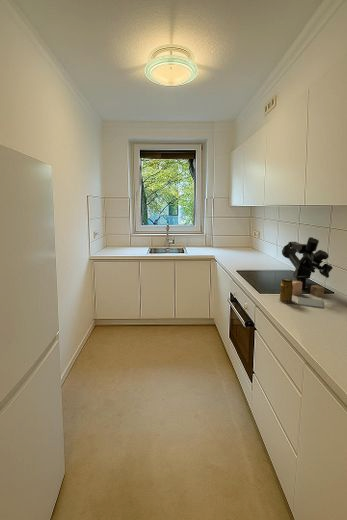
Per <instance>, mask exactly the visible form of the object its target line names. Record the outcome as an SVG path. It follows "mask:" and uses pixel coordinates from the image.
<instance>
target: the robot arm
mask: <svg viewBox="0 0 347 520" xmlns="http://www.w3.org/2000/svg"><path fill="white" fill-rule="evenodd" d="M319 242H320V241H319V239H317V238H314V237H308V239H307V242H306V243H303V244H302V243H299V242H298V241H288V243H287V244H285V245H284V246H283V248H282V250H281V255H282V256H283V257H284V259H285V258H286V259H288V260H289V261H290V262H291V264H292V265H293V267H294V269H295V270H294V271H293V273H292V275H293V278H295V281H301V282H302V290H303V289H309V287H308V286H307V279H310V278H311V276H312V273H315V272H316V270H318V272H319V273H320V275H321V276H323V277H325V278H327V279H328V278H329V277H330V272H331V271H332V269H333V266H332V265H331V264H328V263H324V264H323V265H321V264H322V263H323V260H328V258H329V254H328V253H327V252H326V251H324V250H321V249H319V250H317V248H318V245H319ZM297 253H298V254H299V255H300V254H302V257H301V258H299V257H298V256H297V255H296V254H297Z"/></svg>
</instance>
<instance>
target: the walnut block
mask: <svg viewBox="0 0 347 520" xmlns="http://www.w3.org/2000/svg"><path fill="white" fill-rule="evenodd" d="M309 294H310V295H312V296H313V297H316V298H317V297H324V296H325V287H324V286H323V285H322V286H321V285H318V284H317V285H311V286H310V292H309Z"/></svg>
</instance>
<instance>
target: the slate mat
mask: <svg viewBox="0 0 347 520" xmlns="http://www.w3.org/2000/svg"><path fill="white" fill-rule="evenodd" d="M297 306H305V307H310V308H319V309H324V301H323V299H317V298H316V299H315V298H308V297H307V298H306V297H301V296H300V297H298V300H297Z"/></svg>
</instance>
